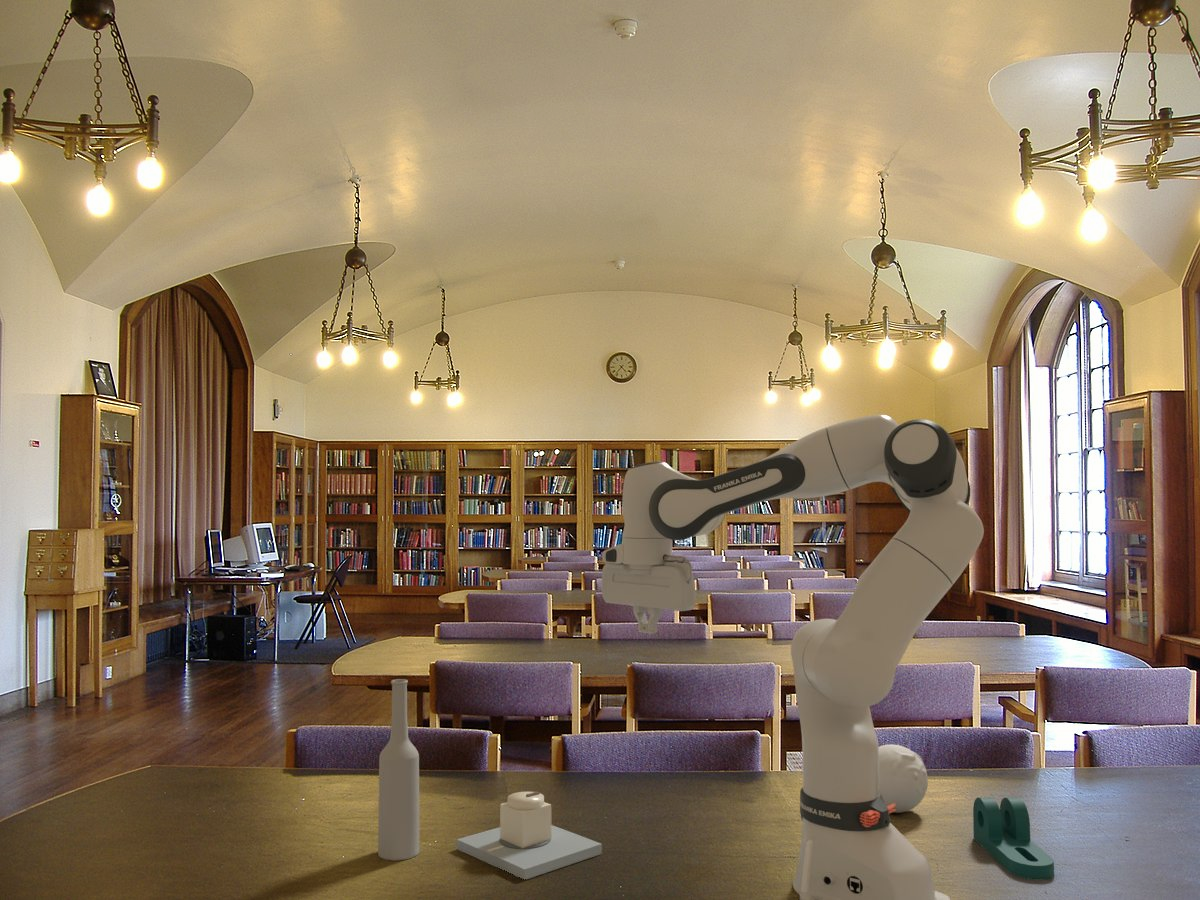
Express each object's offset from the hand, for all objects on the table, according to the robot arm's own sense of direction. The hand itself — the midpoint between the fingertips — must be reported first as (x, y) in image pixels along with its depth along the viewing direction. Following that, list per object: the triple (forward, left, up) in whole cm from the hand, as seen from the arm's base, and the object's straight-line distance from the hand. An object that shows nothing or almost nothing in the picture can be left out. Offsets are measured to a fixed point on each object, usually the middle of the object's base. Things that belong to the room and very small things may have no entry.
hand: (647, 632), depth 175 cm
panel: (+6, +22, -34) cm, 41 cm away
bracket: (-50, -33, -35) cm, 69 cm away
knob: (+7, +22, -32) cm, 40 cm away
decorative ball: (-24, -40, -34) cm, 58 cm away
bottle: (+20, +38, -34) cm, 55 cm away
